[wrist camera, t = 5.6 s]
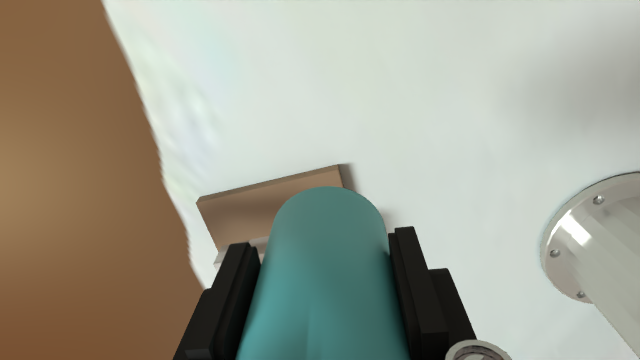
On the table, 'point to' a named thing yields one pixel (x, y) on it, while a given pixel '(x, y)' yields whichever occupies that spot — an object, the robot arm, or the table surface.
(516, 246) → the table surface
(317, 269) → the peg
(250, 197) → the socket board
